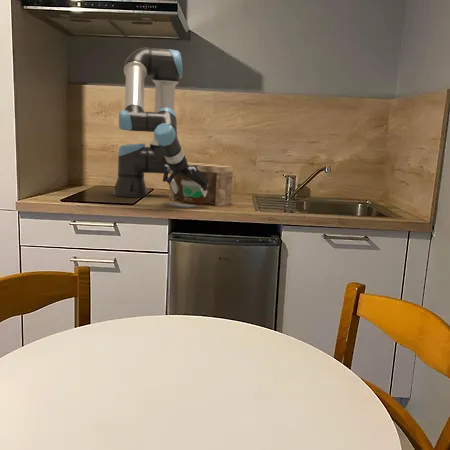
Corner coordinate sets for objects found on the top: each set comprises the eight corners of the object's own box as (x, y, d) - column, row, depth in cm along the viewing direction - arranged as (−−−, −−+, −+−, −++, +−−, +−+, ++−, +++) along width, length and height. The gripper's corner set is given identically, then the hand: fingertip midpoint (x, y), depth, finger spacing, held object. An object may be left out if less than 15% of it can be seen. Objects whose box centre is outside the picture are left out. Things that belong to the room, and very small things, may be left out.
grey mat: (164, 205, 217) (164, 204, 217) (173, 203, 224) (173, 202, 224) (188, 208, 213) (188, 207, 213) (197, 206, 220) (197, 205, 220)
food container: (175, 203, 224) (176, 179, 222) (181, 201, 230) (182, 178, 228) (201, 206, 220) (202, 182, 218) (207, 204, 225) (208, 181, 224)
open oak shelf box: (169, 200, 232) (170, 162, 229) (182, 197, 243) (184, 161, 240) (219, 206, 223) (221, 167, 220) (230, 203, 234) (233, 166, 231)
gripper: (144, 162, 209) (161, 196, 226) (200, 167, 200) (215, 202, 216) (151, 149, 213) (168, 183, 230) (207, 153, 204) (220, 189, 220)
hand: (191, 193), depth 223 cm, fingers open, 13 cm apart
